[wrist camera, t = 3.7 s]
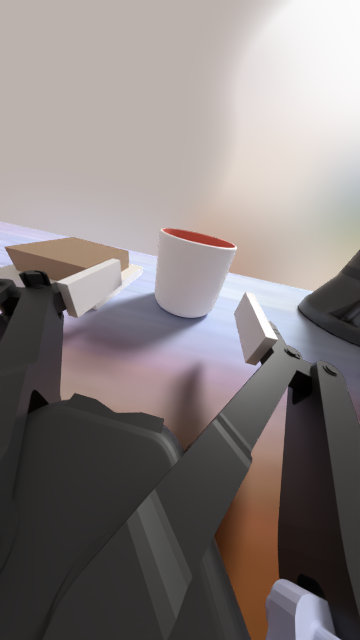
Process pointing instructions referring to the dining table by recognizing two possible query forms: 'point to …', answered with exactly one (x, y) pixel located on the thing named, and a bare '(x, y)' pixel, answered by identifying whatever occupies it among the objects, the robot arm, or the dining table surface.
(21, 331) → the robot arm
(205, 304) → the cup
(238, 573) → the dining table surface
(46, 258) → the plinth
